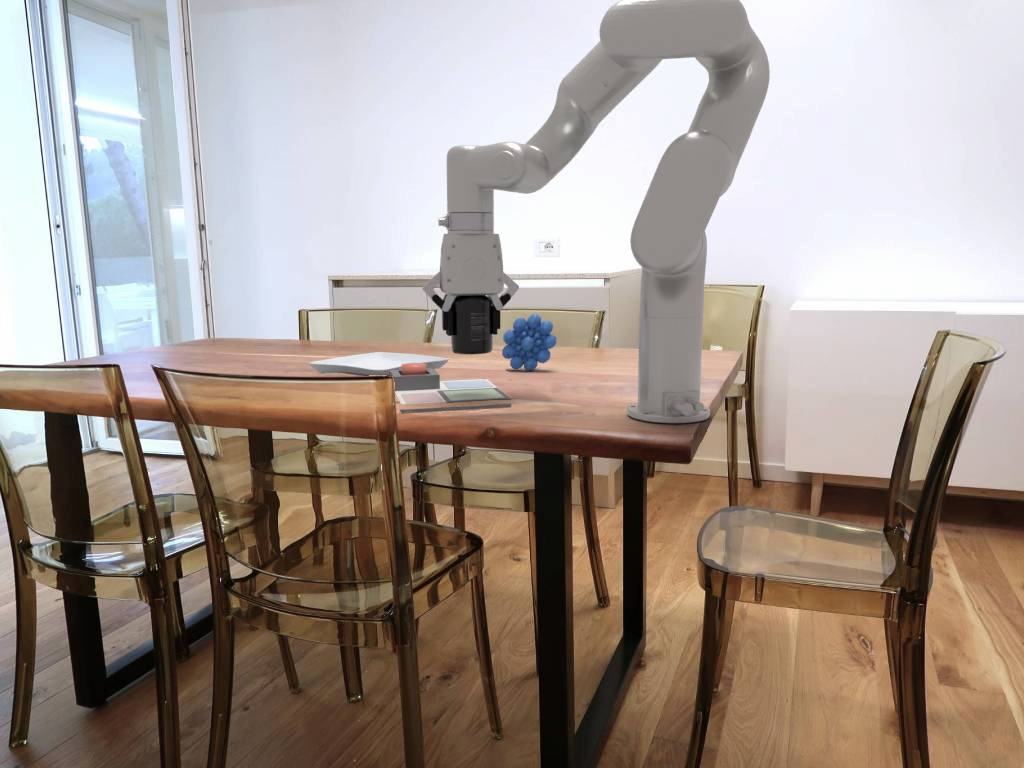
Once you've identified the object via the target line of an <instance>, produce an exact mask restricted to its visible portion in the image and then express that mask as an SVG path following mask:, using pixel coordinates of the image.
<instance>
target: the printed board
mask: <svg viewBox="0 0 1024 768" xmlns="http://www.w3.org/2000/svg"><path fill="white" fill-rule="evenodd" d="M395 393H396V394H395ZM394 394H395V395H396V397H397V399H398V401H399V402H400V404H401V405H417V404H418V405H419V404H421V405H422V404H437V403H438V404H439V403H440V404H441V403H447V404H450V403H461V402H478V401H495V400H496V401H498V400H499V401H500V400H501V401H502V400H507V401H508V400H512V398H511V396H509V395H508V394H507V393H505V392H503V390H501V389H500V388H498V387H497V385H494V384H493V383H492V382H491V381H490V380H488V379H487V378H483V379H482V378H480V379H478V378H477V379H462V380H461V379H459V380H458V379H457V380H440V389H429V390H409V391H395V392H394ZM505 408H509V409H510V408H512V403H498V404H496V403H495V404H482V405H481V404H480V405H464V406H463V405H460V406H445V407H444V406H443V407H442V406H441V407H430V408H429V407H428V408H427V407H426V408H423V407H422V408H409V409H408V408H407V409H404V408H403V409H399V411H400V412H401V414H414V413H415V414H416V413H419V414H420V413H435V412H451V411H453V412H454V411H456V412H457V411H469V410H470V411H471V410H474V411H475V410H489V409H490V410H492V409H505Z"/></svg>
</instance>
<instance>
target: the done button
mask: <svg viewBox="0 0 1024 768" xmlns="http://www.w3.org/2000/svg"><path fill="white" fill-rule="evenodd" d="M401 371H402V375H420V374H426V364H424V363H406V364H402V365H401Z"/></svg>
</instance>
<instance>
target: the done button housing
mask: <svg viewBox="0 0 1024 768" xmlns="http://www.w3.org/2000/svg"><path fill="white" fill-rule="evenodd" d="M390 376H393V378H394V382H395V391H409V390H429V389H440V381H441V379H440V377H441V375H440V373H438V371H437V370H435V368H426V374H420V375H402V371H401V370H389V377H390Z"/></svg>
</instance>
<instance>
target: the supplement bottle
mask: <svg viewBox="0 0 1024 768" xmlns="http://www.w3.org/2000/svg"><path fill="white" fill-rule="evenodd" d="M451 311H452V312H453V335H452V336H450V337H451V351H452V353H454V354H457V355H482V354H489V353H492V351H493V334H492V302H491V300H490V298H489V297H487V295H465V296H455V298H454V301H453V303H452V305H451Z"/></svg>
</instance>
